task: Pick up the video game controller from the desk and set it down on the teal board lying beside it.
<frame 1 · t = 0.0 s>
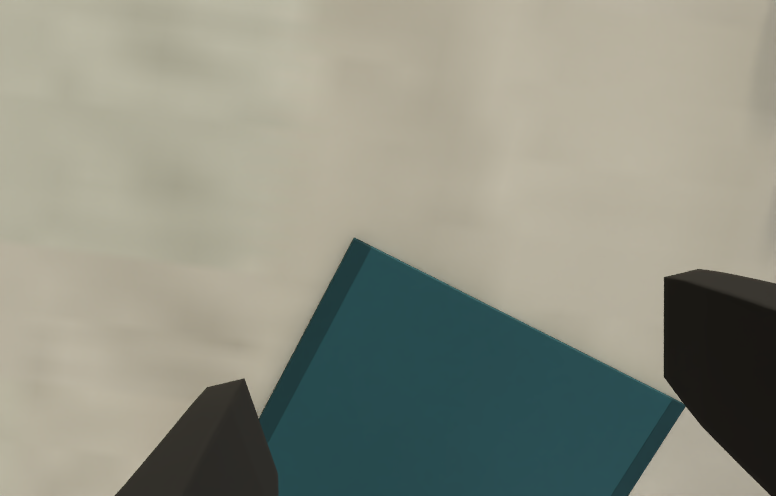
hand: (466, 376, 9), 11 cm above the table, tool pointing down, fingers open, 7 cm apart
teal board: (458, 444, 21), on the table
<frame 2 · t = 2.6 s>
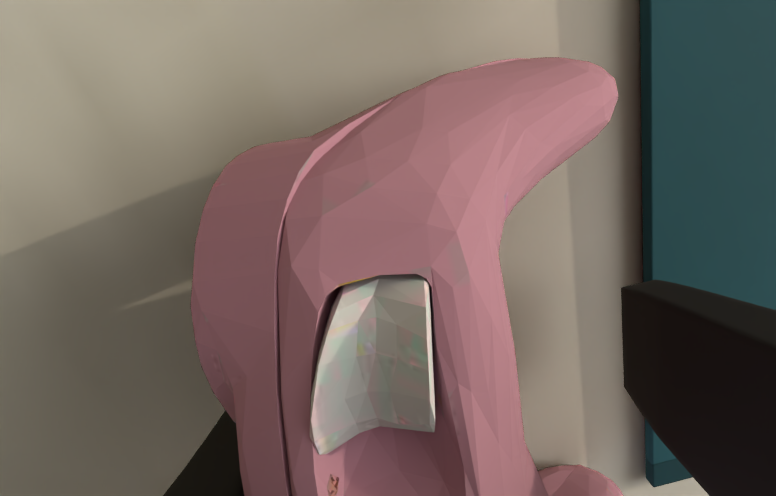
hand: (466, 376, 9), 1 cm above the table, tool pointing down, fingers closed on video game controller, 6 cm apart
video game controller: (441, 330, 10), on the table, touching gripper
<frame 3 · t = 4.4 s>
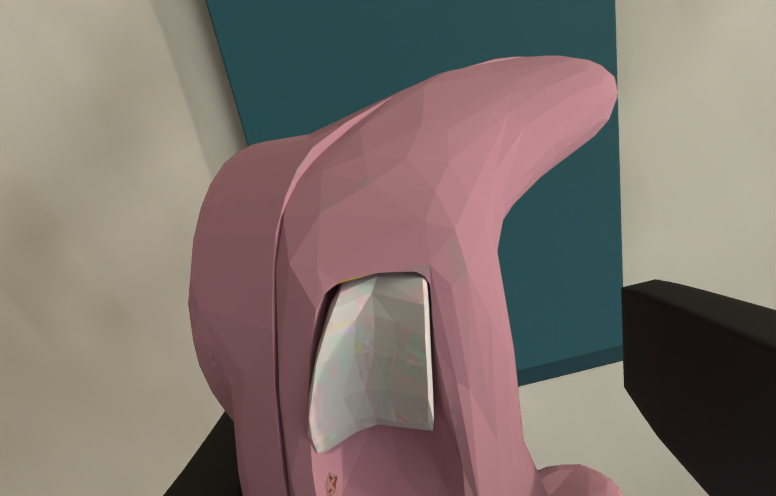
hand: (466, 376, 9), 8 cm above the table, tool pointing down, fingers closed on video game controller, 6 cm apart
teal board: (448, 197, 17), on the table
video game controller: (440, 329, 10), point 7 cm above the table, touching gripper
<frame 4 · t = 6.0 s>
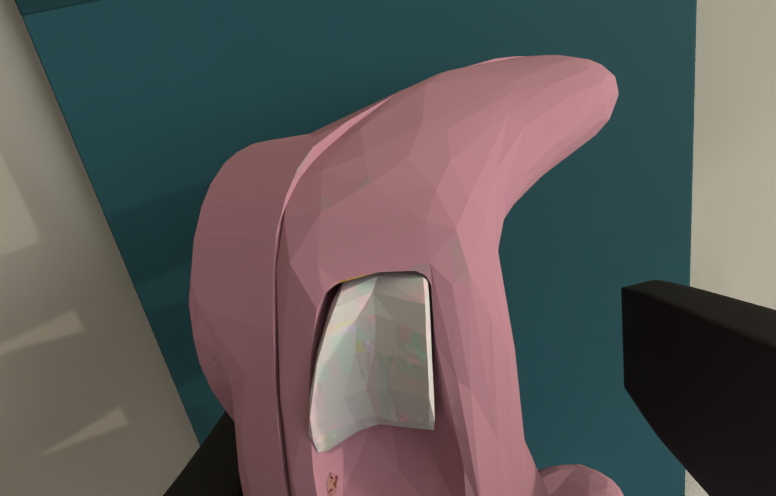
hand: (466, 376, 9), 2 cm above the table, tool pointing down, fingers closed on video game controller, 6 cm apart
teal board: (435, 310, 11), on the table
video game controller: (440, 329, 10), point 1 cm above the table, touching gripper
when the fingers open (2 cm above the table, at t = 6.8 s): video game controller stays where it is, resting on teal board.
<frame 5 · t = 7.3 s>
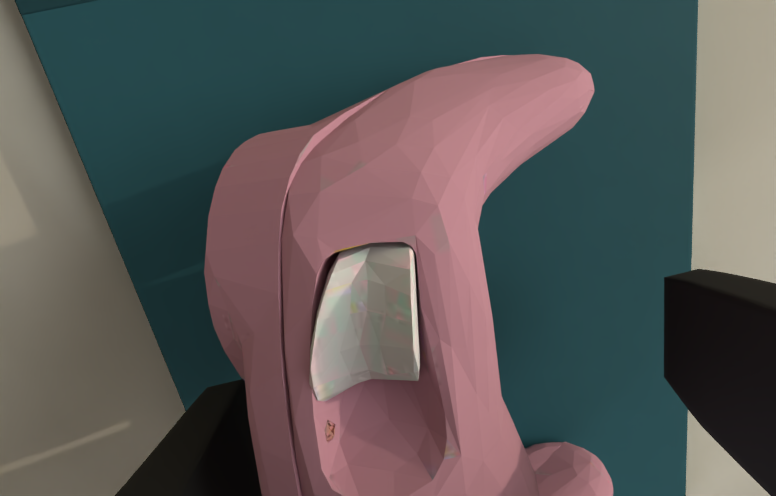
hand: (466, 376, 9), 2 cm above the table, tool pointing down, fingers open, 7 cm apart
teal board: (436, 310, 11), on the table
video game controller: (433, 312, 11), resting on teal board
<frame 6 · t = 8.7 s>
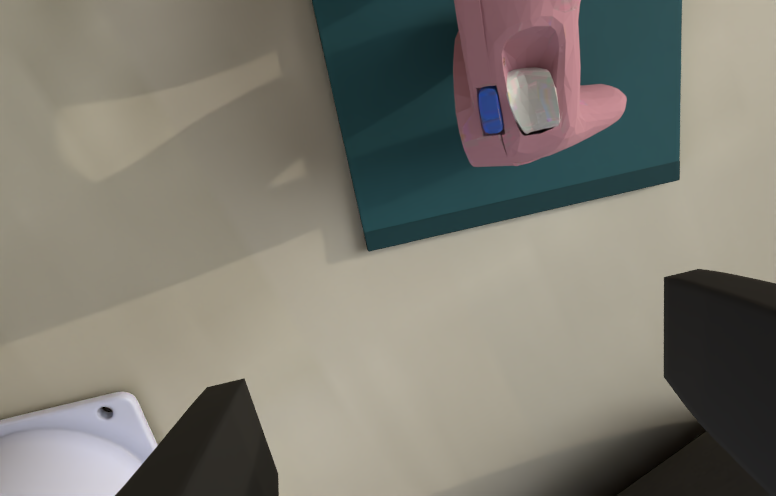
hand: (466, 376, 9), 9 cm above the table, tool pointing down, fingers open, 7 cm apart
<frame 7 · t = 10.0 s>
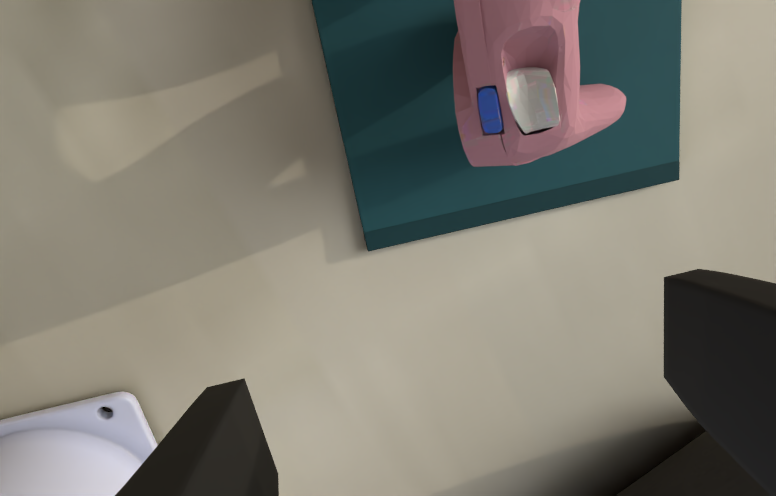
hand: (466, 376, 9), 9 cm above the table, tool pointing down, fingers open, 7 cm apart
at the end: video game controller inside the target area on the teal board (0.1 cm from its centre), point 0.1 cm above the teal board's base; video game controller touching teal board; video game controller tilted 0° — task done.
